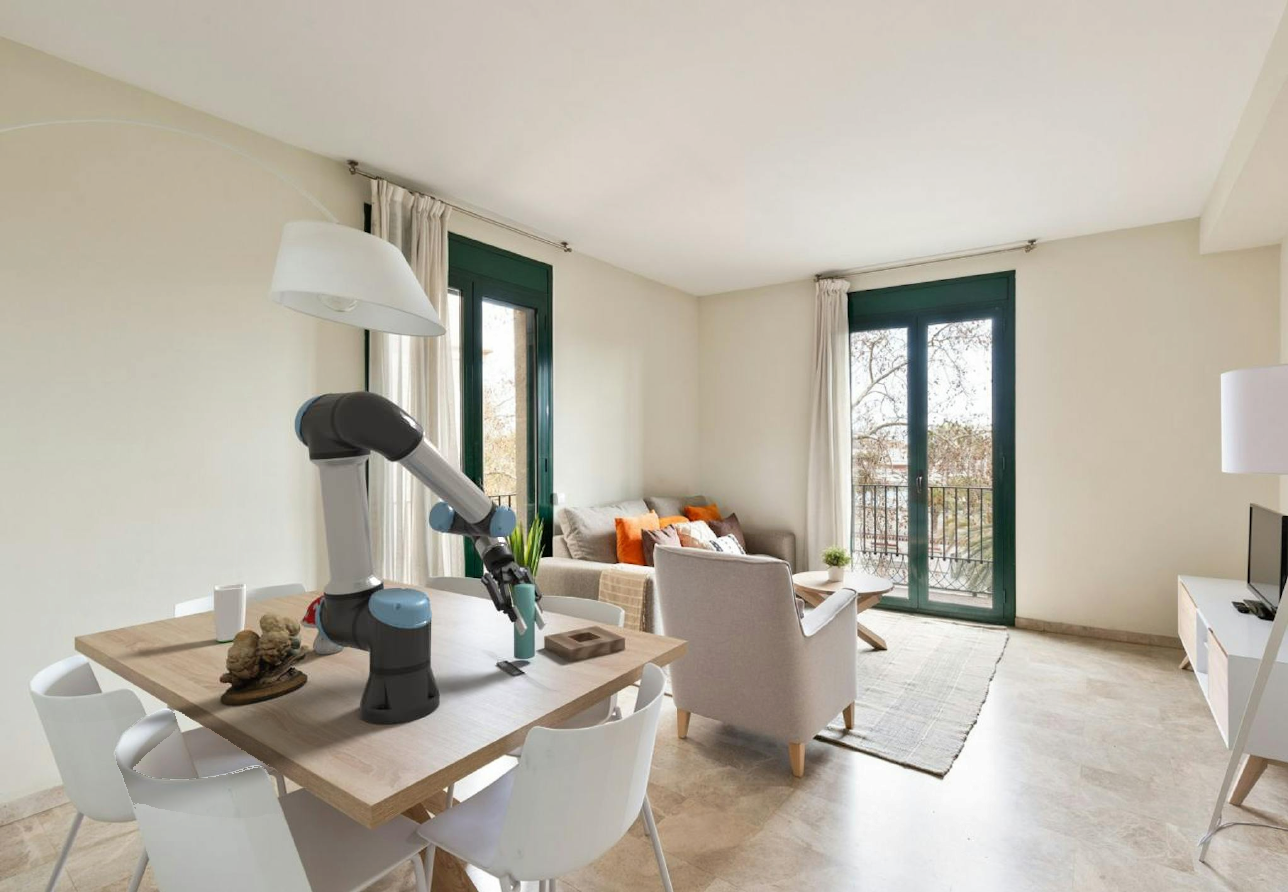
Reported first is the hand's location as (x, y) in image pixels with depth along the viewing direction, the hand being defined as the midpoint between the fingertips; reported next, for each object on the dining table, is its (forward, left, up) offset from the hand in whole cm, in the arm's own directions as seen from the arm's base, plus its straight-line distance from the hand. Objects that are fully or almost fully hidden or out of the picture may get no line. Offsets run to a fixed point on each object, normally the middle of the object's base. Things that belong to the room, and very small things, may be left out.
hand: (533, 628), depth 147 cm
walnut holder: (+16, +4, -10) cm, 19 cm away
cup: (-58, +74, -10) cm, 94 cm away
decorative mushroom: (-37, +46, -10) cm, 59 cm away
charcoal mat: (-1, +4, -10) cm, 10 cm away
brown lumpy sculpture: (-53, +23, -10) cm, 58 cm away
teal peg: (-1, +4, -7) cm, 8 cm away
